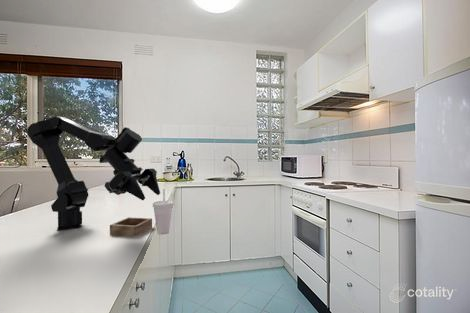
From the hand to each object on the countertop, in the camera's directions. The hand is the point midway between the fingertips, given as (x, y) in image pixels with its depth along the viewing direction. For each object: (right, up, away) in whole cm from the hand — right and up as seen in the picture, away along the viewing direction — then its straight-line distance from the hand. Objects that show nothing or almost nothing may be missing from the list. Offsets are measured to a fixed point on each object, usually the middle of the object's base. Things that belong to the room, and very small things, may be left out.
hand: (152, 196), depth 76 cm
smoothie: (+4, -12, -1) cm, 12 cm away
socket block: (-7, -12, +1) cm, 14 cm away
